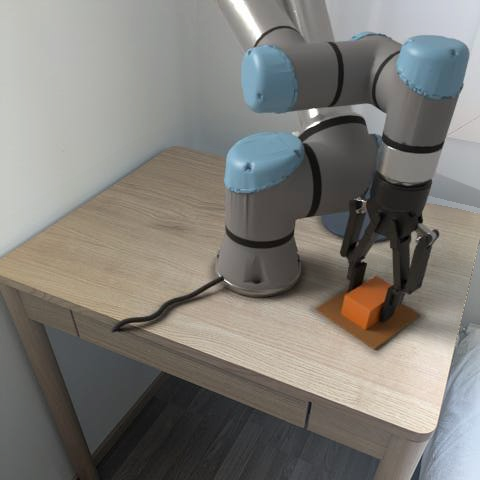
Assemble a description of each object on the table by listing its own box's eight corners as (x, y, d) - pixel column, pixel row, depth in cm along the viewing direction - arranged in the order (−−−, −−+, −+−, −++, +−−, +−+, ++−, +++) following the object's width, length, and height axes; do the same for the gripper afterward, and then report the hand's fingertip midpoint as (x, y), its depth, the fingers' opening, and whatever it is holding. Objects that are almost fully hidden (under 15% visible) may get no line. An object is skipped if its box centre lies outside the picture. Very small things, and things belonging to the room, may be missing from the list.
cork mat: (374, 350, 74) (375, 348, 74) (315, 310, 81) (315, 308, 81) (419, 316, 80) (420, 314, 80) (361, 281, 87) (361, 279, 87)
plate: (366, 252, 94) (367, 249, 93) (304, 218, 102) (305, 215, 102) (414, 223, 102) (415, 221, 101) (353, 194, 110) (354, 192, 110)
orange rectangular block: (365, 330, 77) (370, 311, 74) (340, 314, 80) (344, 295, 77) (395, 308, 81) (401, 289, 78) (371, 294, 84) (375, 275, 81)
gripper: (486, 191, 61) (433, 327, 76) (363, 143, 71) (338, 271, 87) (453, 211, 57) (404, 350, 73) (329, 157, 67) (309, 288, 83)
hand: (368, 307), depth 80 cm, fingers open, 6 cm apart
